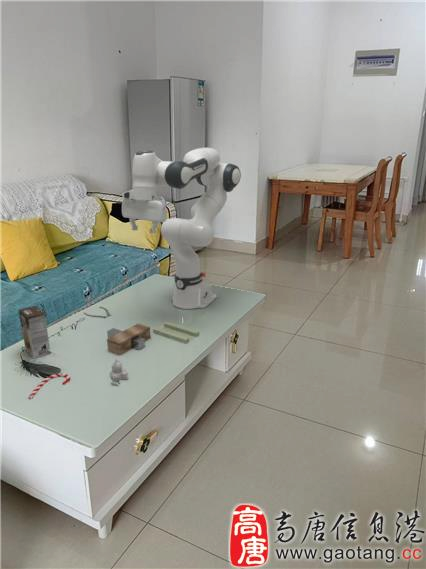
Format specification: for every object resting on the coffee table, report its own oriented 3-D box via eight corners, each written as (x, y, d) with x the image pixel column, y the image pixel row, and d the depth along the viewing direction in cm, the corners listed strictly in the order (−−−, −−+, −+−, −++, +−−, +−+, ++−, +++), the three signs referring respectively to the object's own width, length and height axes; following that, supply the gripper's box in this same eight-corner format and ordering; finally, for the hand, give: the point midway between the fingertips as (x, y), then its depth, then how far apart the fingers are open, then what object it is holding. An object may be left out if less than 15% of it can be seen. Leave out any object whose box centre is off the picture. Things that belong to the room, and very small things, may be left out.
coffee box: (24, 349, 160) (17, 309, 155) (42, 344, 164) (36, 304, 159) (33, 359, 154) (26, 317, 148) (51, 353, 158) (45, 312, 152)
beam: (139, 337, 169) (138, 323, 167) (150, 341, 166) (149, 327, 164) (108, 354, 157) (106, 339, 155) (120, 358, 154) (118, 343, 152)
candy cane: (20, 394, 132) (56, 370, 145) (21, 397, 133) (56, 373, 146) (40, 400, 129) (74, 375, 142) (40, 404, 130) (75, 378, 143)
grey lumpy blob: (116, 374, 144) (114, 353, 142) (133, 378, 142) (131, 357, 139) (106, 382, 140) (103, 360, 137) (123, 387, 137) (121, 365, 134)
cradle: (167, 328, 177) (167, 321, 176) (199, 338, 168) (199, 331, 167) (153, 336, 170) (153, 329, 169) (185, 347, 162) (185, 340, 161)
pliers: (97, 305, 198) (131, 313, 189) (97, 307, 199) (131, 315, 189) (81, 313, 190) (116, 322, 181) (81, 314, 191) (116, 324, 181)
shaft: (114, 335, 168) (113, 327, 166) (144, 346, 159) (144, 338, 158) (107, 338, 165) (107, 331, 164) (138, 350, 157) (138, 342, 155)
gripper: (170, 197, 161) (169, 234, 165) (130, 193, 172) (130, 228, 176) (159, 197, 156) (158, 235, 160) (119, 193, 167) (119, 229, 171)
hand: (143, 231), depth 168 cm, fingers open, 8 cm apart
